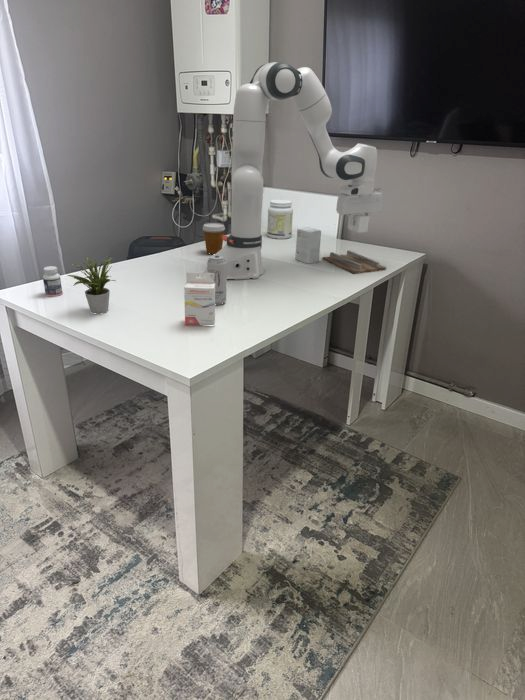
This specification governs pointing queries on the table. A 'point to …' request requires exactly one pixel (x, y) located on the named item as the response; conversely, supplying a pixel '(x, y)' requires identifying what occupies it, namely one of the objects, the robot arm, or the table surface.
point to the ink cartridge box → (199, 299)
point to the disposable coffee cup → (213, 237)
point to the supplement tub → (280, 219)
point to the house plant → (96, 286)
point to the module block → (359, 223)
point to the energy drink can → (218, 276)
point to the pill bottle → (52, 282)
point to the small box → (308, 245)
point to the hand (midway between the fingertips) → (358, 224)
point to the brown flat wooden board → (353, 262)
